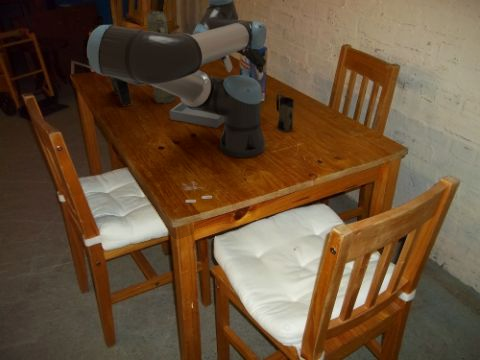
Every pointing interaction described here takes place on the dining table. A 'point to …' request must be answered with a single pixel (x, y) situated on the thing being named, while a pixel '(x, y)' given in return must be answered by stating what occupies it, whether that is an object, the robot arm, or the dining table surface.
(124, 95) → the ceramic cat
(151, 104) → the dining table surface
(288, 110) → the mug
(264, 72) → the beverage box
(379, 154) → the dining table surface
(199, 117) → the box
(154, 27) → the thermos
